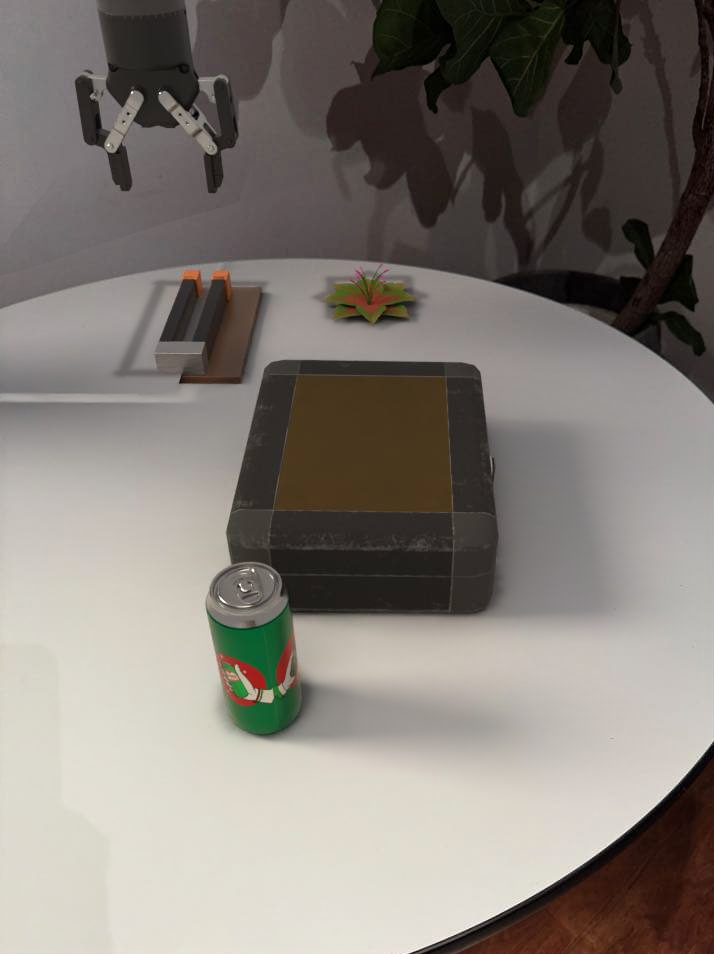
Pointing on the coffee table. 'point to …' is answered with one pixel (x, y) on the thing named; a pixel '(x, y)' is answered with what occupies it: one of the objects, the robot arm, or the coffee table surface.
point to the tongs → (197, 353)
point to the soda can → (255, 646)
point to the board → (231, 338)
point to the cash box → (370, 486)
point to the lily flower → (369, 298)
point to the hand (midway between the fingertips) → (170, 189)
